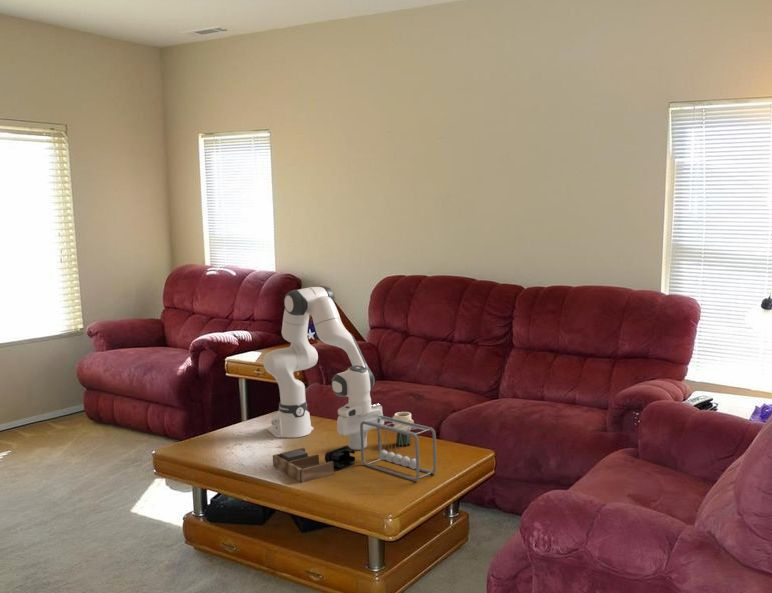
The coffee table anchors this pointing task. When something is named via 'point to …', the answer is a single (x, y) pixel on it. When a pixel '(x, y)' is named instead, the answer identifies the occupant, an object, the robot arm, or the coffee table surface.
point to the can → (355, 442)
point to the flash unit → (294, 455)
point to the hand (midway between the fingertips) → (361, 441)
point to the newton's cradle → (398, 458)
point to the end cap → (340, 457)
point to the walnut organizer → (303, 467)
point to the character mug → (404, 417)
